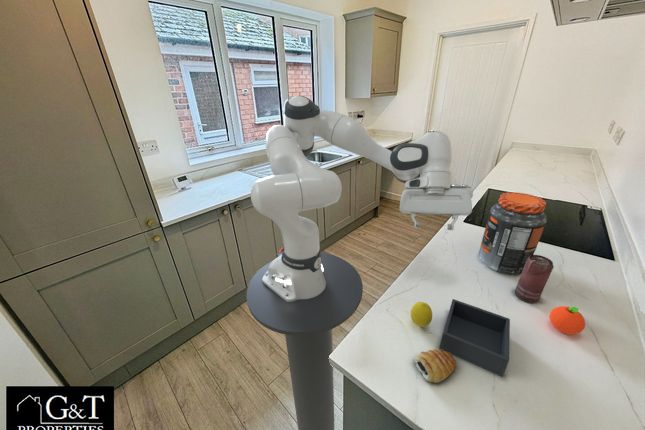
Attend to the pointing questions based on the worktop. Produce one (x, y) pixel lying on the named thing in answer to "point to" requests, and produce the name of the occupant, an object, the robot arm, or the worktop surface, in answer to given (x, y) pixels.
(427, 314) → the lemon
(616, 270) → the worktop surface
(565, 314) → the clementine
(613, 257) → the worktop surface
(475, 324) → the bin
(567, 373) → the worktop surface
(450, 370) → the pastry
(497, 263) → the supplement tub
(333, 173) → the robot arm
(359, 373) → the worktop surface
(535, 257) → the dark red glass cylinder
